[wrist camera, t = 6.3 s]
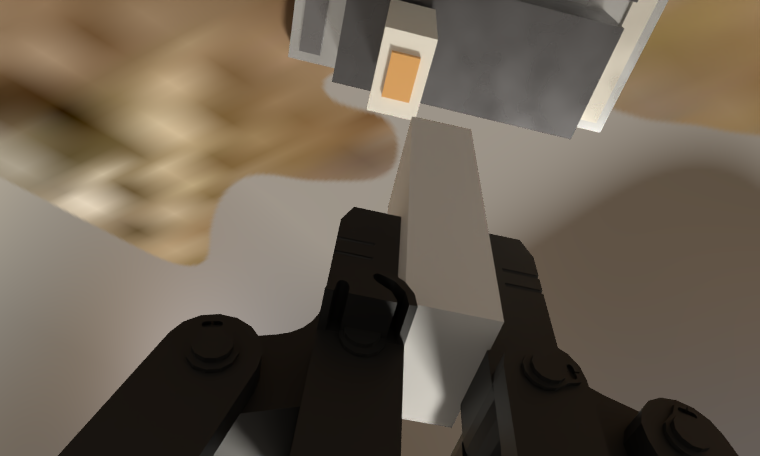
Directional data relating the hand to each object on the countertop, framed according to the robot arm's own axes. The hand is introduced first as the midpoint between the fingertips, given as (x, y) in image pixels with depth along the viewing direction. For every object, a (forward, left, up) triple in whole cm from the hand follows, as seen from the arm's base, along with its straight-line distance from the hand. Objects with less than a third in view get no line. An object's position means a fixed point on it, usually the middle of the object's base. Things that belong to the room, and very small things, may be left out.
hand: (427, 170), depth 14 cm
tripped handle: (0, -1, -10) cm, 10 cm away
